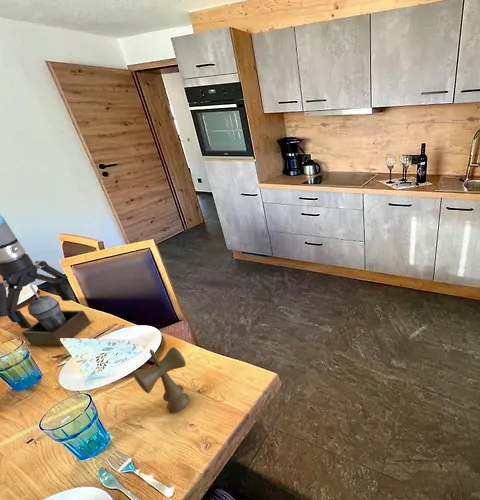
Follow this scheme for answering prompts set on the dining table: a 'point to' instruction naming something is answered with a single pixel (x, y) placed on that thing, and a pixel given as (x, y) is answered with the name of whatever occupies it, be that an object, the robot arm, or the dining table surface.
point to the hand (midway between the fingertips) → (48, 313)
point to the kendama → (164, 379)
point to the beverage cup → (46, 311)
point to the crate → (57, 330)
